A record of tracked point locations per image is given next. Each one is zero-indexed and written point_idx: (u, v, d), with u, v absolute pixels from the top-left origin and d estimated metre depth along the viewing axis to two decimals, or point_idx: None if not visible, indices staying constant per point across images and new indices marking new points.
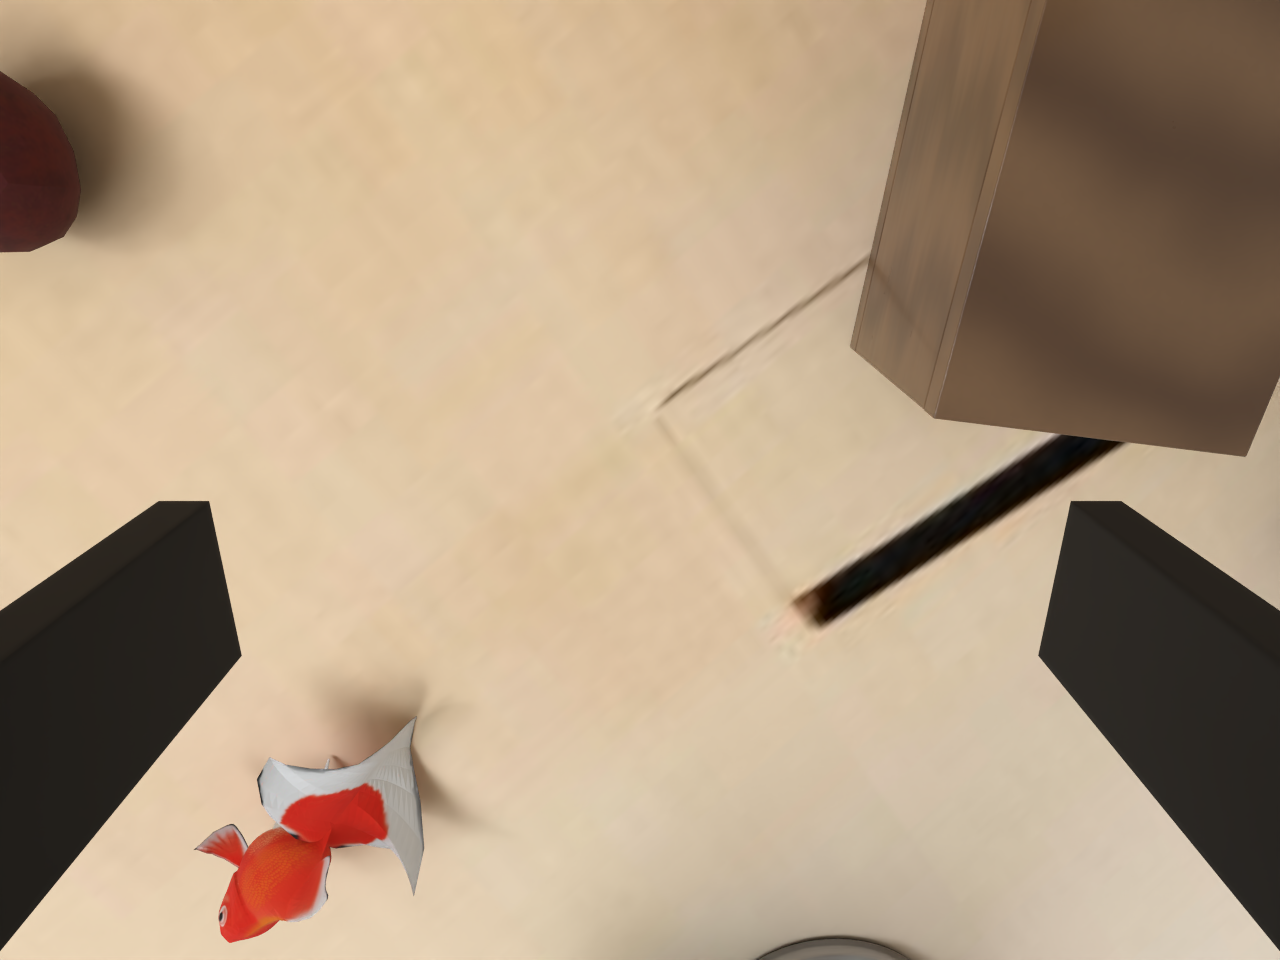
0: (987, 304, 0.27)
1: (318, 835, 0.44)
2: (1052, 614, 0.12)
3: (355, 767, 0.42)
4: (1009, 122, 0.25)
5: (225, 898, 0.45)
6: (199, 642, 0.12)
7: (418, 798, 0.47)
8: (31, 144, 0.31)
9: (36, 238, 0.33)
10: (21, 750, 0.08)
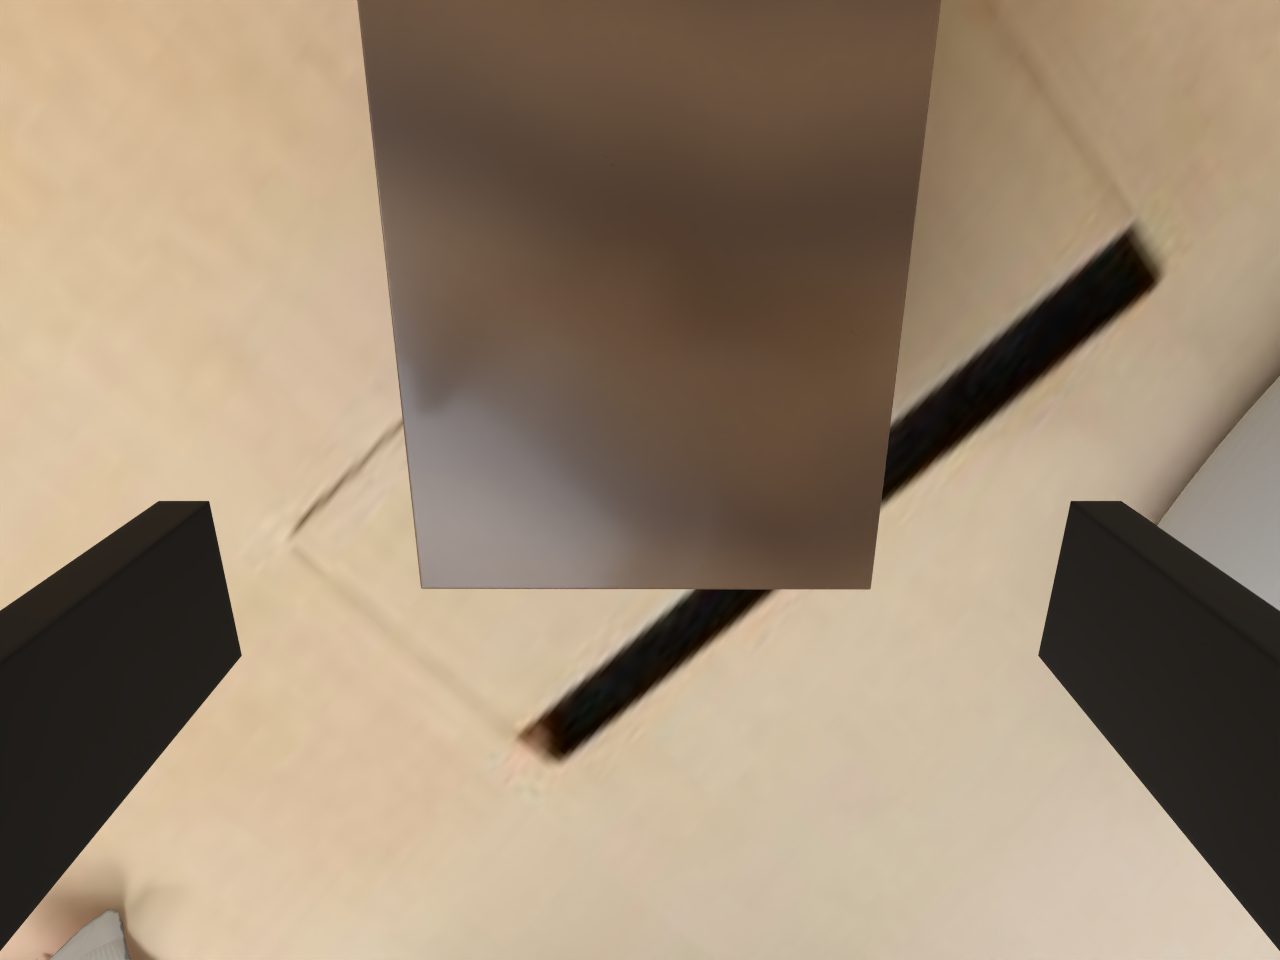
0: (436, 437, 0.19)
1: None
2: (1053, 614, 0.12)
3: None
4: None
5: None
6: (199, 642, 0.12)
7: None
8: None
9: None
10: (22, 750, 0.08)
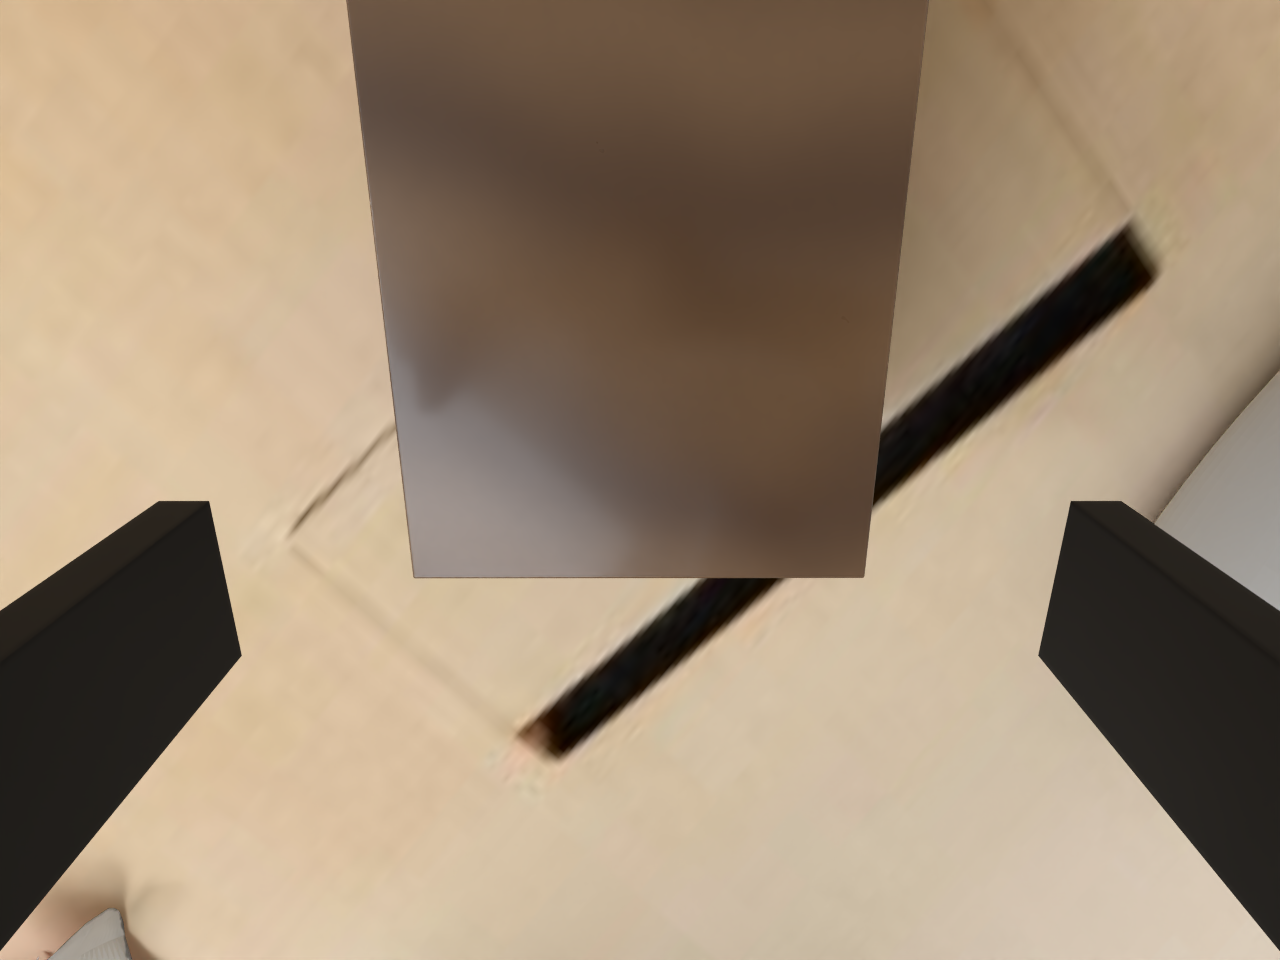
0: (427, 425, 0.19)
1: None
2: (1052, 614, 0.12)
3: None
4: None
5: None
6: (199, 642, 0.12)
7: None
8: None
9: None
10: (21, 750, 0.08)
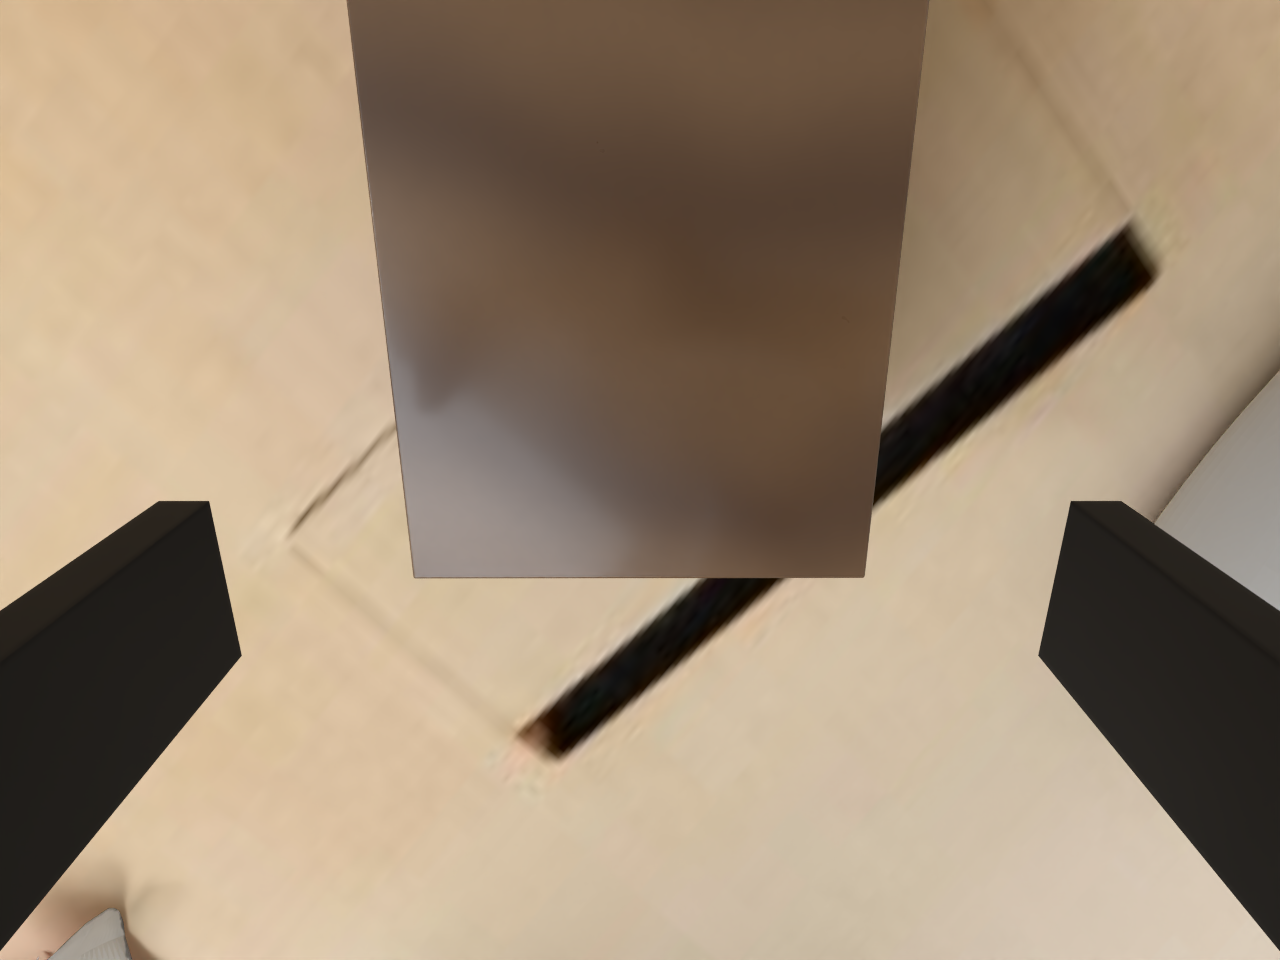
0: (427, 425, 0.19)
1: None
2: (1052, 614, 0.12)
3: None
4: None
5: None
6: (199, 642, 0.12)
7: None
8: None
9: None
10: (21, 750, 0.08)
